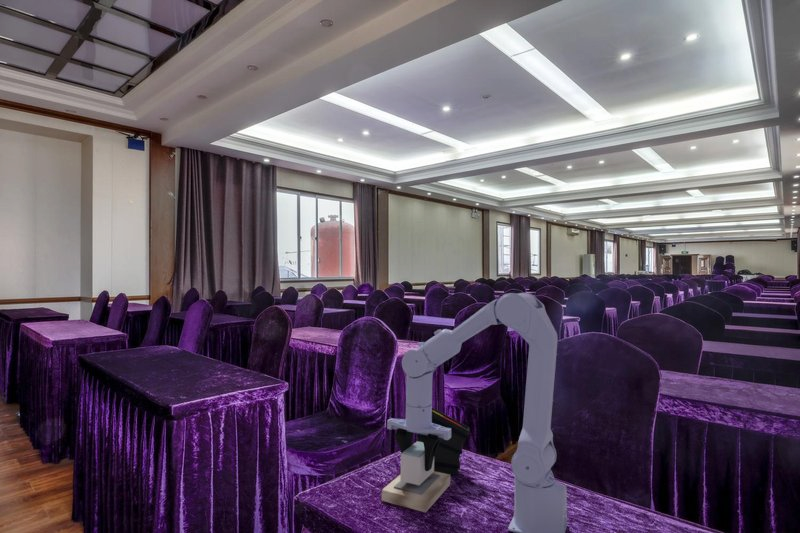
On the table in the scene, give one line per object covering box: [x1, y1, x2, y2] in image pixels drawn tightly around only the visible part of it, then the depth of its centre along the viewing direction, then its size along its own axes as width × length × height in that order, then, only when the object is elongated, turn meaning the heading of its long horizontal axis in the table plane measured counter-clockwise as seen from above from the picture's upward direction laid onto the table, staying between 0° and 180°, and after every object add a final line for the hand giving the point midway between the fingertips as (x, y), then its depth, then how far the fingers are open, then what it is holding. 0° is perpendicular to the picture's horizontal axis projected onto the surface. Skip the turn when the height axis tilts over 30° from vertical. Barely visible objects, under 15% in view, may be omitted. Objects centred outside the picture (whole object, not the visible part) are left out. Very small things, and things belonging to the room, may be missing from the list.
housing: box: [400, 440, 434, 485], centre depth 98 cm, size 8×4×6 cm, turn 153°
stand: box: [381, 471, 451, 513], centre depth 97 cm, size 10×14×2 cm
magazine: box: [416, 407, 470, 476], centre depth 109 cm, size 4×13×15 cm, turn 83°
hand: (417, 467), depth 98 cm, fingers closed on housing, 4 cm apart
